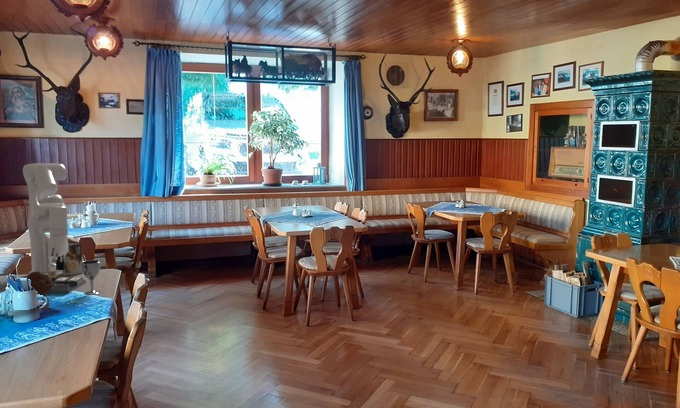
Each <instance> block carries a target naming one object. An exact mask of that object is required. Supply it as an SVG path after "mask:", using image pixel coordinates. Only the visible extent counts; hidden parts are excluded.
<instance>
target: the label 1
mask: <svg viewBox="0 0 680 408" xmlns="http://www.w3.org/2000/svg"><path fill="white" fill-rule="evenodd" d="M68 278H69V277H59V279H58V278H57V279H58V280H57V279H56V281H64V280H66V279H68Z"/></svg>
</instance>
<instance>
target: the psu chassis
mask: <svg viewBox="0 0 680 408" xmlns="http://www.w3.org/2000/svg"><path fill="white" fill-rule="evenodd" d="M59 278H60V277H59ZM59 278H57V276H56V277H52V278H50V281H52V282H53V286H52V288H51V289H50V290H49V292H48V293H47V294H70V293H72V292H73V291H75V290H76V289H78V288H79V287H81V286H83V285H84V284H86V283H87V280H85V279H84V277H79V278H80V279H78V280H77V281H69V280H70V279H72V278H73V277H67V278H68V279H66V280H64V281H56V280H58V279H59Z"/></svg>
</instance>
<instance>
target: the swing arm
mask: <svg viewBox="0 0 680 408" xmlns="http://www.w3.org/2000/svg"><path fill="white" fill-rule="evenodd" d="M47 276H48V277H49V278H50V279H51V278H52V277H56V278H57V270H56V262H52V263H50V264H48V275H47Z"/></svg>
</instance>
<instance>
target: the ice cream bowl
mask: <svg viewBox="0 0 680 408" xmlns="http://www.w3.org/2000/svg"><path fill="white" fill-rule="evenodd" d="M27 275H28V276H27V277H26V279H30V280H31V286H32V287H33V288H34V289H35V290H36V291H37V292H38V294H40V295H43V296H44V295H46V294H49V293H48V292H49V290H50V289H51V288H52V286H53V282H52V281H51V278H49V275H45V274H41V273H40V272H32V273H30V274H29V273H28V274H27Z"/></svg>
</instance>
